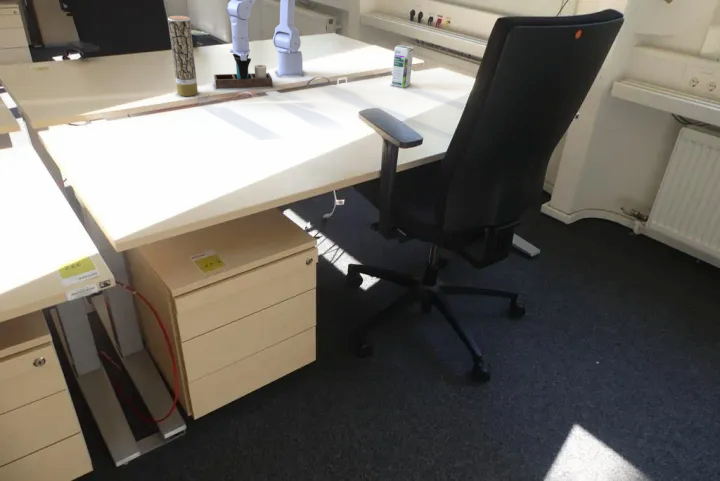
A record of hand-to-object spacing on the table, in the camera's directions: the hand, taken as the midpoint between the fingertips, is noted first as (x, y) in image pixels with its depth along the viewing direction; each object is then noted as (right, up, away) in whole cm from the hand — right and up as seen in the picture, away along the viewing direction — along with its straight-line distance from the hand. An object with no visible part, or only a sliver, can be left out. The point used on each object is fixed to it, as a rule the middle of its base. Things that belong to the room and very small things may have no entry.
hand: (242, 75), depth 197 cm
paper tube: (-17, -9, -9) cm, 22 cm away
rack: (0, -3, +2) cm, 4 cm away
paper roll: (0, -1, +1) cm, 2 cm away
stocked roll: (+6, -2, +4) cm, 7 cm away
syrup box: (+59, 0, +14) cm, 60 cm away
